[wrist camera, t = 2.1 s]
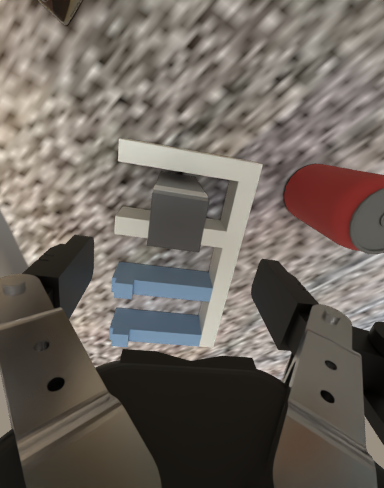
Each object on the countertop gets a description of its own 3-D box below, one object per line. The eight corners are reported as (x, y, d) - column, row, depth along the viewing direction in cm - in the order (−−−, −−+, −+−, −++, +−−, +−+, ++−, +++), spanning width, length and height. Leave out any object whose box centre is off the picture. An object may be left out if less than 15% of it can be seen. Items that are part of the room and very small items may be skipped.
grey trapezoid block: (196, 176, 28) (210, 201, 17) (190, 210, 30) (199, 252, 19) (160, 170, 28) (151, 192, 17) (156, 205, 29) (146, 246, 18)
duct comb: (251, 161, 28) (266, 165, 23) (209, 326, 37) (214, 353, 33) (126, 138, 26) (116, 138, 21) (115, 318, 35) (107, 345, 31)
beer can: (343, 193, 30) (441, 225, 19) (298, 227, 32) (365, 274, 21) (319, 150, 28) (413, 159, 17) (271, 188, 29) (330, 219, 18)
